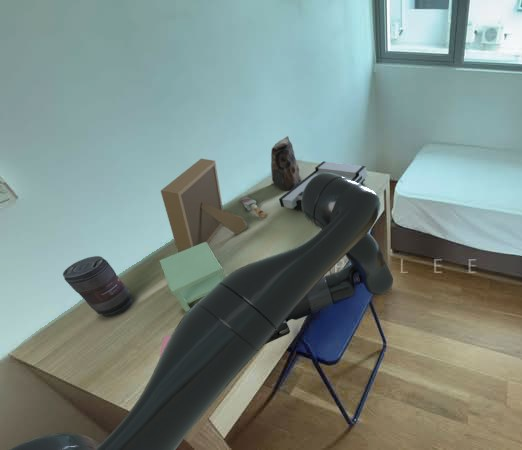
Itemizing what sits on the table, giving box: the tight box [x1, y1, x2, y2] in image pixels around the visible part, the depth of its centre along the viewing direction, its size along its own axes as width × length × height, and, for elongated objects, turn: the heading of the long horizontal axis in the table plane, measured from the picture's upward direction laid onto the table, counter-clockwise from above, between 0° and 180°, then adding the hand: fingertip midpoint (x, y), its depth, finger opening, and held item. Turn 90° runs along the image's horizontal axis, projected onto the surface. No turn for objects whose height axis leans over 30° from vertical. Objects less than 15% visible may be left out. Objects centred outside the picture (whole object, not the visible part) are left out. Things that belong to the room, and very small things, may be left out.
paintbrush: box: [238, 196, 267, 219], centre depth 121 cm, size 4×3×20 cm
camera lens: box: [62, 255, 134, 318], centre depth 78 cm, size 8×8×15 cm
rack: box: [159, 242, 226, 313], centre depth 86 cm, size 16×12×8 cm
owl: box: [270, 135, 302, 192], centre depth 132 cm, size 13×13×20 cm
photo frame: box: [160, 158, 248, 253], centre depth 99 cm, size 15×22×25 cm
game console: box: [278, 161, 368, 211], centre depth 124 cm, size 21×32×8 cm, turn 161°
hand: (234, 324), depth 66 cm, fingers open, 8 cm apart
